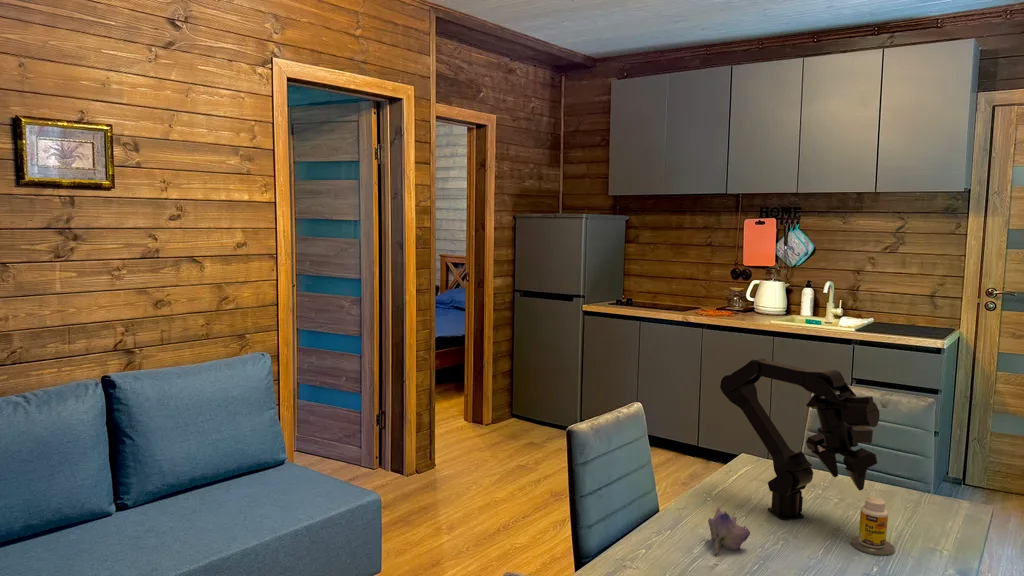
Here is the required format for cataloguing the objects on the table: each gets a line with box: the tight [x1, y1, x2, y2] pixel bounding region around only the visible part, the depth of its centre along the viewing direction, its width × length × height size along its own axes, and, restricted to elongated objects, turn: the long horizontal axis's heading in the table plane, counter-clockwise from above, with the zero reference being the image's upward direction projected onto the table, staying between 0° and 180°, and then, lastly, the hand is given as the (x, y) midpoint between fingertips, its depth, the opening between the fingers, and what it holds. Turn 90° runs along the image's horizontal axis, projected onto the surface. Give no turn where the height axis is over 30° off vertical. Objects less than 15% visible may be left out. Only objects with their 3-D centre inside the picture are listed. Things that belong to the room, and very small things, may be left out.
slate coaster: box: [849, 535, 896, 557], centre depth 165 cm, size 9×9×1 cm
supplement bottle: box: [857, 496, 889, 548], centre depth 165 cm, size 6×6×10 cm
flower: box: [707, 507, 751, 556], centre depth 162 cm, size 9×9×10 cm
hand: (848, 483), depth 175 cm, fingers open, 9 cm apart
